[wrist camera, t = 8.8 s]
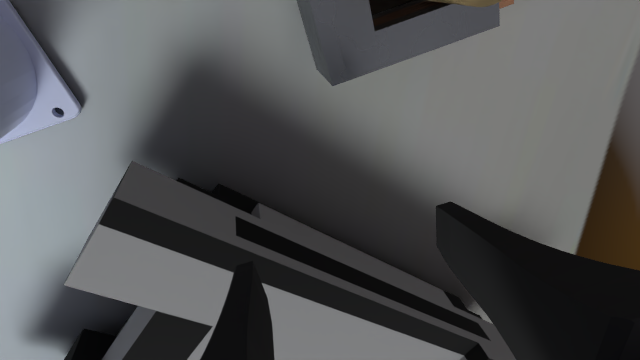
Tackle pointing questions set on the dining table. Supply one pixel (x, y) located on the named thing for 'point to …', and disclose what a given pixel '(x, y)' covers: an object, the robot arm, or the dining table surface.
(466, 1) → the brass peg
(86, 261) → the game console
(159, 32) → the dining table surface
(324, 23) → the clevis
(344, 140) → the dining table surface
